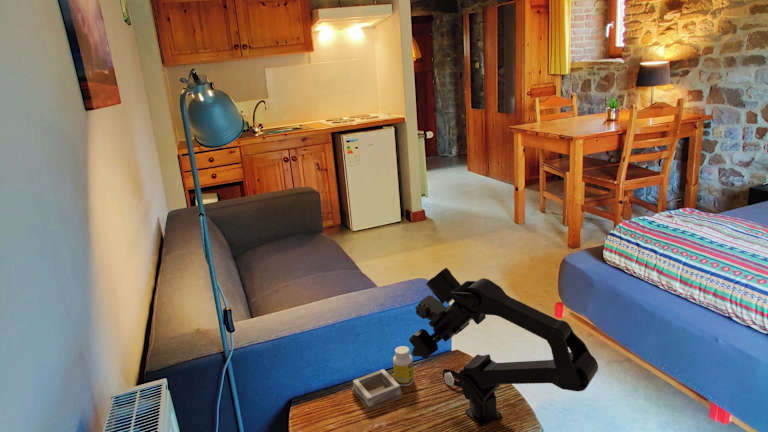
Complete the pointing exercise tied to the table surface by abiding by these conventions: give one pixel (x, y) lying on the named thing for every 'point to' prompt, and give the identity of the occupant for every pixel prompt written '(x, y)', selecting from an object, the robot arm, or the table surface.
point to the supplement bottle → (403, 366)
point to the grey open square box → (376, 389)
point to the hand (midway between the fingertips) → (423, 346)
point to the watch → (450, 377)
